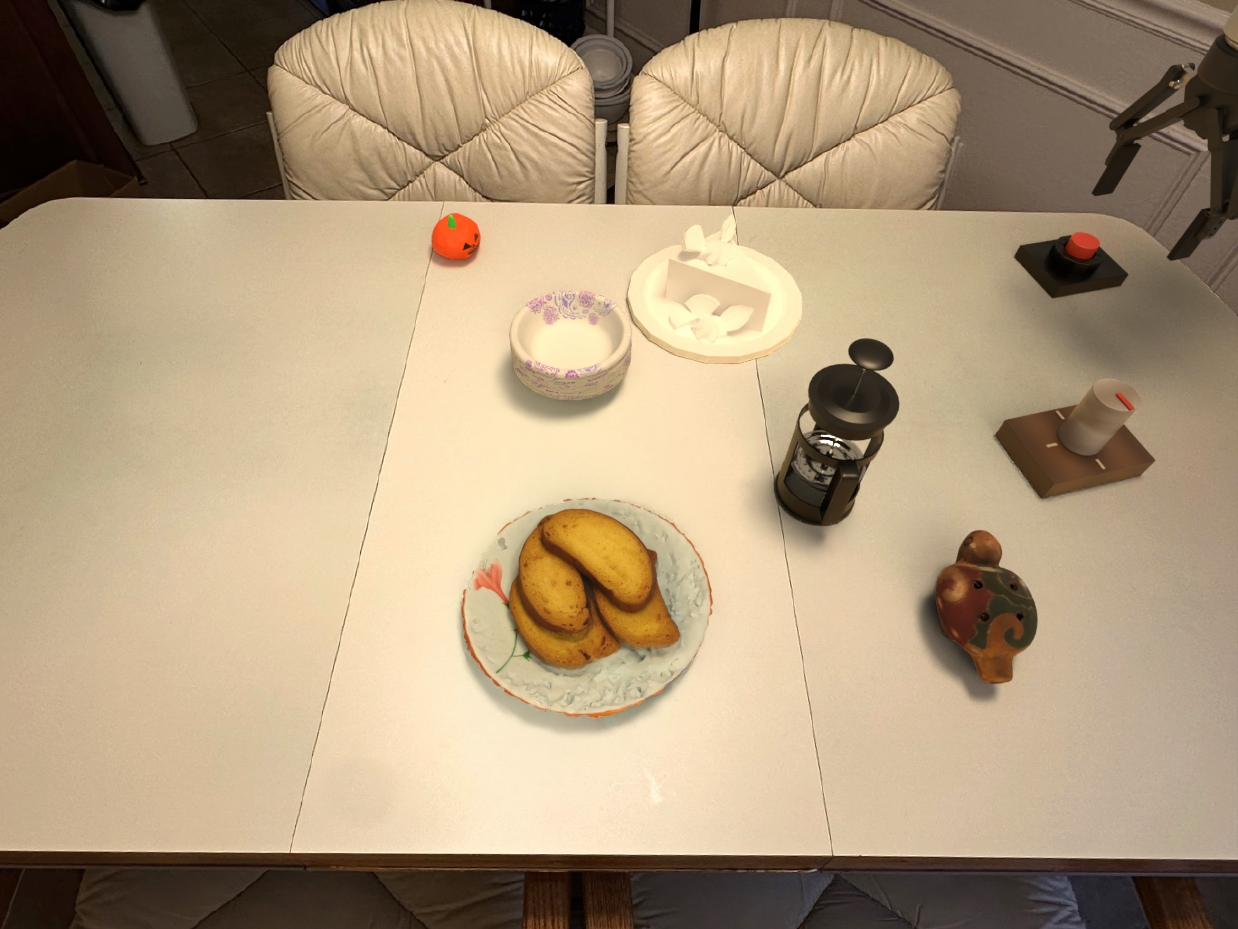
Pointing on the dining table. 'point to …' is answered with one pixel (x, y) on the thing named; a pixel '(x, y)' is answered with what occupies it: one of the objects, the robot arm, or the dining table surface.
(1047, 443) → the dial panel
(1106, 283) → the button housing
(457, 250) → the pumpkin
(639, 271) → the dish
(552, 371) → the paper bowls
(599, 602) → the food on plate
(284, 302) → the dining table surface
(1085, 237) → the push knob
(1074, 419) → the dial
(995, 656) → the painted clay ocarina
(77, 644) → the dining table surface
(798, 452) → the french press
